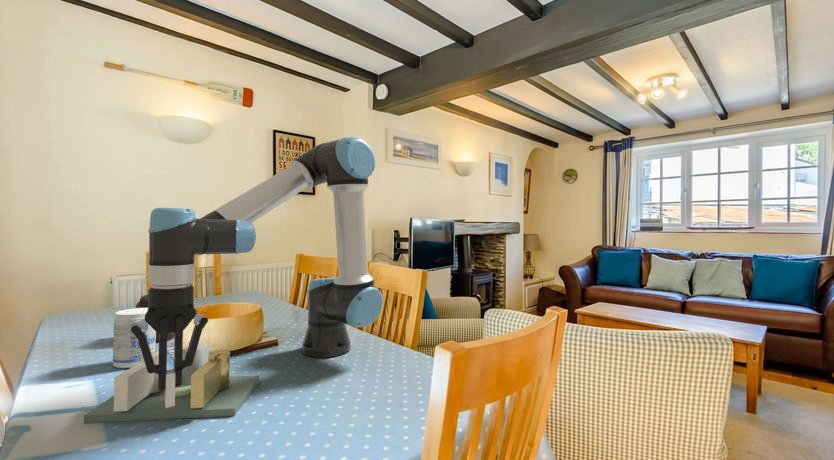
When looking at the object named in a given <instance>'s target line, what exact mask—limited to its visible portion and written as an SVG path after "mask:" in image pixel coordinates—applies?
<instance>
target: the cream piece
mask: <svg viewBox="0 0 834 460" xmlns="http://www.w3.org/2000/svg"><path fill="white" fill-rule="evenodd" d="M151 354H152V358H153V361H154V364H156V365H158V362H159V350H157V351H156V350H155V352H151ZM161 391H162V390H161ZM157 392H160V390H159V388H158V374H157V373H148V371H147V368H146V365H145V361H144V358H143V355H142V356H141V362H140V363H138V364H137V365H135V366H133V367H132V368H127V369H126V370H125V371H124V372H122V373H120V374H118V375H116V376H115V377H114V379H113V396H114V411H128V410H129V409H130V408H132V407H133V406H134V405H135V404H137V403H138V402H139V401H141V400H142V399H143V398H145V397H146V396H147V395H149V394H153V393H157Z"/></svg>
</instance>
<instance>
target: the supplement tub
mask: <svg viewBox="0 0 834 460" xmlns="http://www.w3.org/2000/svg"><path fill="white" fill-rule="evenodd" d="M147 311H148V308H136V307H134V308H129V309H122V310H118V311H116V312H114V318H113V335H112V336H113V338H112V339H113V342H112V343H113V344H112V366H114V367H115V368H118V369H130V368H132V367H133V366H135V365H137V364H138V363H140V362H141V356H142V351H141V348H140V345H139V341H138V338H137V337H136V336H135V335H134V334H133V333H132V332H131V325H132V324H134V323H138V322H139V321H141V320H143V319H144V318H145V314H146V313H147ZM146 327H147V330H146V331H145V334H146V337H147V341H148V344H149V348H150V351H151V352H155V351H156V346H157V343H156V331H155V330H154V329H153V328H152V327H151V326H150V325H149V324H147V325H146Z"/></svg>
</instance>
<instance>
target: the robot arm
mask: <svg viewBox="0 0 834 460" xmlns="http://www.w3.org/2000/svg"><path fill="white" fill-rule="evenodd" d="M375 168H376V158H375V154H374V152H373V150H372V147H371V146H370V145H368V143H367V142H366V141H365V140H364V139H362V138H360V137H356V136H355V137H354V136H351V137H342V138H339V139H336V140H331V141H327V142H322V143H319V144H317V145H315V146H313V147H312V148H310V149H309V150H307V151H306V152H304V153H303V154H301V155H299V156H298V157H296V158H295V159H293V160H291V161H289V163H288V166H287V167H286V168H284V169H283V170H281V171H279V172H278V173H276V174H275V175H272V176H271V177H269V178H267V179H266V180H264V181H262V182H261V183H258V184H257V185H255V186H254V187H252V188H250V189H248V190H247V191H245V192H244V193H242V194H240V195H238V196H235V198H233V199H232V200H230V201H228V202H227V203H224V204H223V205H221V206H219V207H218V208H216V209H214V210H212V211H211V212H209V213H207V214H205V215H204V216H202V217H200V218H197V216H196V211H195V210H194V209H193V208H180V207H155V208H154V209H152V210H151V212H150V217H149V225H148V226H149V228H148V232H147V233H148V234H149V235H148V237H149V238H148V239H149V240H148V242H149V243H148V245H149V246H148V249H149V250H148V252H149V253H148V254H149V255H148V256H149V258H148V261H149V262H148V280H147V281H148V282H147V283H148V285H149V286H150V287H149V289H148V291H147V293H148V294H147V295H148V311H147V313H146V314H145V318H144V319H143V320H141V321H139V322H138V323H134V324H132V325H131V332H132V333H133V334H134V335H135V336H136V337H137V338H138V341H139V345H140V348H141V351H142V355H143V358H144V361H145V365H146V368H147V371H148V373H157V374H158V388H159V390H160V391H161V390H165V407H166V408H168V407H172V406H175V387H180V386H181V384H182V370H183V369H184V368H186V367H188V366H191V365H192V364H193V361H194V357H195V354H196V350H197V347H198V345H199V344H200V343H199V342H200V338H201V336H202V332H203V329H204V328H205V326H206V325H207V324H208V322H209V319H208V317H207V316H206V315H202V314H200V313H197V310H196V308H195V305H194V304H195V302H194V299H195V296H194V295H195V288H194V286H193V285H192V284H193V283H195V256H197V255H198V256H200V255H201V256H202V255H228V254H229V255H230V254H231V255H232V254H235V255H238V254H247V253H250V252H252V250H253V249H254V247H255V245H256V240H257V237H256V236H257V233H256V229H255V226H254V224H253V223H254V222H255V221H257V220H259V219H260V218H262V217H263V216H265V215H266V214H268V213H269V212H271V211H273V210H274V209H276V208H278V207H279V206H281V205H282V204H283V203H285V202H287V201H288V200H290V199H291V198H293V197H294V196H296V195H297V194H299V193H300V192H302V191H303V190H306V191H309V190H311V189H313V188H315V187H317V186H319V185H321V184H326V185H327V187H326V188H328V189H329V190H330V191H331V192H332V194H333V195H332V196H333V210H334V212H333V213H334V225H335V239H336V240H335V241H336V242H335V243H336V259H337V273H338V274H337V276H336V277H335V276H334V277H324V278H323V277H322V278H314V279H312V280H310V281H309V283H308V290H307V293H308V294H307V296H308V301H307V302H308V303H307V305H308V306H307V307H308V308H307V315H308V316H307V329H306V332H305V335H304V337H303V340H302V343H301V353H302V354H303V355H305V356H307V357H309V358H310V357H312V358H333V356H334V357H338V355H339V356H342V355H344V354H343V353H345V354H347V353H348V352H349V351H350V350H351V345H352V344H351V339H350V335H349V333H348V329H347V326H346V325H349V326H350V327H353V328H354V327H357V328H366V327H369V326H370V325H372V324H373V323H374V322H376V320H377V319H378V316H380V315H381V312H382V309H383V305H384V298H383V295H382V293H381V291H380V290H379V289H378V288H376V287H375V281H374V276H373V275H371V274H370V273H369V266H368V265H369V264H368V263H369V262H368V248H367V233H366V232H367V230H366V217H365V215H366V213H365V200H364V199H365V198H364V192H365V190H366V189H367V188H368V186H369V178H370V176H372V174H373V172H374V171H375ZM192 320H193V321H192ZM191 322H193V324H194V327H193V330H192V333H191V336H190V340H189V343H188V347H187V348H188V350H187V353H186V357H185V359H184V360H182V351H183V349H184V348H183V347H184V346H183V344H184V341H183V339H184V330H186V328H187V327H188V326H189V325H190V323H191ZM147 324H149V325H150V326H151V327H152V328H153V329H154V330H155V331H156V332H157V333H159V343H158V351H159V362H158V365H156V364H154V361H153V358H152V354H151V351H150V348H149V344H148V341H147V337H146V334H145V331H146V330H147V327H146V325H147ZM171 332H173V333H174V338H173V340H174V341H173V349H174V350H173V356H174V358H173V367H174V368H170V369H168V367H167V363H168V361H167V360H168V359H167V358H168V340H167V334H168V333H171ZM349 349H350V350H349ZM347 351H348V352H347ZM346 352H347V353H346ZM341 354H342V355H341Z"/></svg>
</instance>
